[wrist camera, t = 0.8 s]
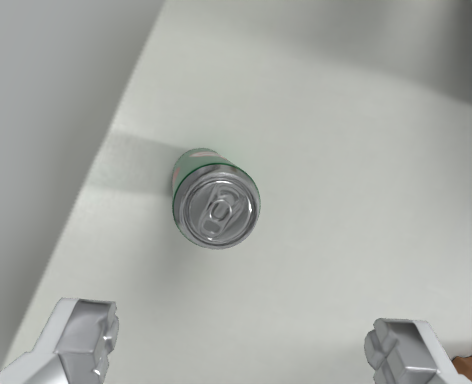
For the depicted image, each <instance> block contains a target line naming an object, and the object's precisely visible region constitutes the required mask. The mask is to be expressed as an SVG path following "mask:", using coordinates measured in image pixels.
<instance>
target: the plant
mask: <svg viewBox="0 0 472 384" xmlns="http://www.w3.org/2000/svg"><path fill="white" fill-rule="evenodd" d="M452 364H453V365H454V367H455V369H456V371H457V373H458V374H462V375H464V376H465V377H467V378H468V379H469V380H470V381H471V382H472V356H471V357H467V358H462V357H459V356H457V357H456V358H455V359H454V360H453V361H452Z"/></svg>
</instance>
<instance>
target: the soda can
mask: <svg viewBox="0 0 472 384" xmlns="http://www.w3.org/2000/svg"><path fill="white" fill-rule="evenodd" d="M172 209H173V216H174V220H175V223H176V225H177V227H178V229H179V230H180V232H181V233H182V234H183V235H184V236H185V237H186V238H187V239H188V240H189V241H191V242H192V243H194V244H196V245H198V246H201V247H205V248H210V249H226V248H230V247H233V246H235V245H237V244H239V243H241V242H242V241H243V240H244V239H246V238H247V237H248V236H249V234H250V233H251V232H252V230H253V229H254V227H255V225H256V222H257V220H258V217H259V213H260V195H259V192H258V189H257V186H256V185H255V183H254V181H253V180H252V178H251V177H250V176H249V175H248V174H247V173H246V172H244V171H243V170H242V169H240V168H239V167H237V166H236V165H234V164H233V163H231V162H230V161H228V160H227V159H226V158H224V157H223V156H221V155H220V154H218V153H217V152H215V151H213V150H210V149H205V148H198V149H193V150H190V151H188V152H186V153H185V154H183V155H182V156H181V157H180V158H179V159H178V161H177V162H176V164H175V166H174V169H173V174H172Z"/></svg>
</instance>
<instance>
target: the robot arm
mask: <svg viewBox="0 0 472 384" xmlns="http://www.w3.org/2000/svg"><path fill="white" fill-rule="evenodd" d="M116 309H117V307H116V302H113V301H100V300H87V299H76V298H61V299H60V300H59V301H58V302H57V304H56V306H55V308H54V310H53V311H52V313H51V315H50V317H49V319H48V321H47V323H46V325H45V327H44V328H43V330H42V332H41V334H40V336H39V338H38V340H37V342H36V344H35V345H34V347H33V349H32V351H31V352H25V353H23V354H22V355H21V356H19V357H18V358H17V359H16V360H14V361H13V362H12V363H11V364H9V365H8V366H7V367H5V368H4V369H3V370H2V371H0V384H103V382H104V379H105V376H106V373H107V369H108V366H109V362H108V356H107V355H108V354H109V353H110V352H112V351H113V350H114V347H115V344H116V340H117V335H118V330H119V320H118V317H117V316H116V315H115V312H116ZM373 325H374V328H375V329H374V330H372V331H370V332H368V334H367V336H366V338H365V344H364V349H365V355H366V358H367V361H368V363H369V364H370V365H371V366H372V367H373V369H374V370H375V374H374V377H373V378H374V381H375V384H472V382H471V381H470V380H469V379H468V378H467V377H465V376H464V375H462V374H458V373H457V371H456V369H455V367H454V365H453V364H452V362H451V360H450V358H449V357H448V355H447V353H446V351H445V350H444V348H443V346H442V344H441V343H440V341H439V339H438V337H437V335H436V334H435V332H434V330H433V328H432V327H431V325H430V324H429V323H428V322H426V321H418V320H408V319H386V318H379V319H377V320H376V321H375V322H374V324H373Z"/></svg>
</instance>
